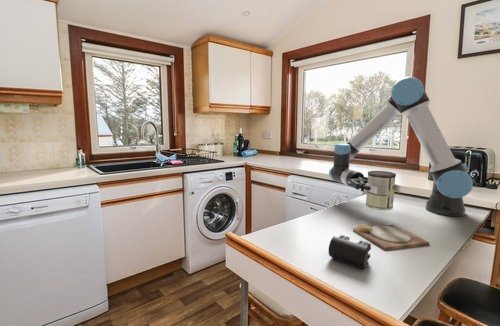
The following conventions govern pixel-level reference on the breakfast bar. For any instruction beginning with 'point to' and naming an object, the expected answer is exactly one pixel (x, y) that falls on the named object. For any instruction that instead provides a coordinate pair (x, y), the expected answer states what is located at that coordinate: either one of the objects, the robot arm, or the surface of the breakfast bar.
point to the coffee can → (381, 190)
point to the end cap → (350, 251)
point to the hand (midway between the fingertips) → (388, 189)
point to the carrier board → (389, 237)
